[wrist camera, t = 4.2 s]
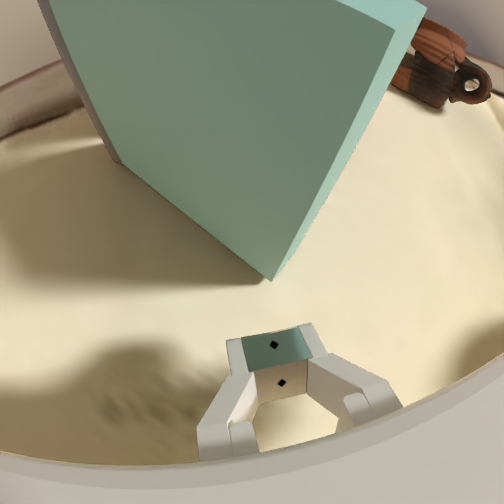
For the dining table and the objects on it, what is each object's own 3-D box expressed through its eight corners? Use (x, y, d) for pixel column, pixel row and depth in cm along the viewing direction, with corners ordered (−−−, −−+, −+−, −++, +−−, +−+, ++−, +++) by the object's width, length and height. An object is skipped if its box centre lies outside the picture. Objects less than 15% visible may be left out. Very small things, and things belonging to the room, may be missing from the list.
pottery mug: (357, 71, 23) (379, -2, 18) (388, 80, 29) (407, 23, 24) (474, 133, 18) (505, 52, 13) (477, 130, 24) (501, 69, 19)
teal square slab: (104, 152, 18) (20, -27, 5) (130, 129, 19) (69, -54, 5) (269, 285, 16) (391, 33, 3) (295, 251, 17) (429, 6, 3)
